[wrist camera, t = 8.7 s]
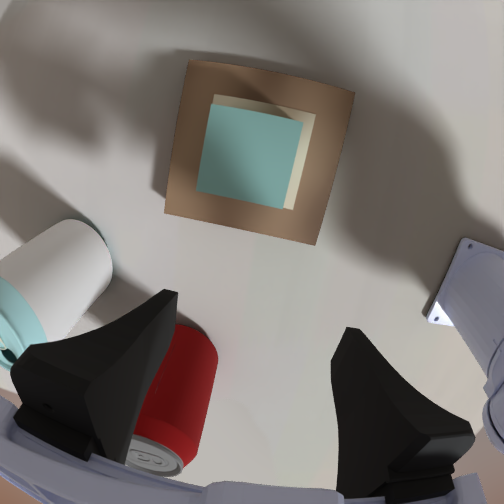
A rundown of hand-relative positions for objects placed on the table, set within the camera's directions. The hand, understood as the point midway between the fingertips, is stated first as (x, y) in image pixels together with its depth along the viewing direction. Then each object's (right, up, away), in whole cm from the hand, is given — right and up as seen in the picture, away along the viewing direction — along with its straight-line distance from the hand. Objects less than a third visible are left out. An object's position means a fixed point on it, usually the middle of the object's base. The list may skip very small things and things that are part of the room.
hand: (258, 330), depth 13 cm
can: (-15, +3, +12) cm, 19 cm away
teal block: (0, +9, +5) cm, 11 cm away
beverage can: (-6, -5, +15) cm, 17 cm away
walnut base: (0, +10, +7) cm, 12 cm away
